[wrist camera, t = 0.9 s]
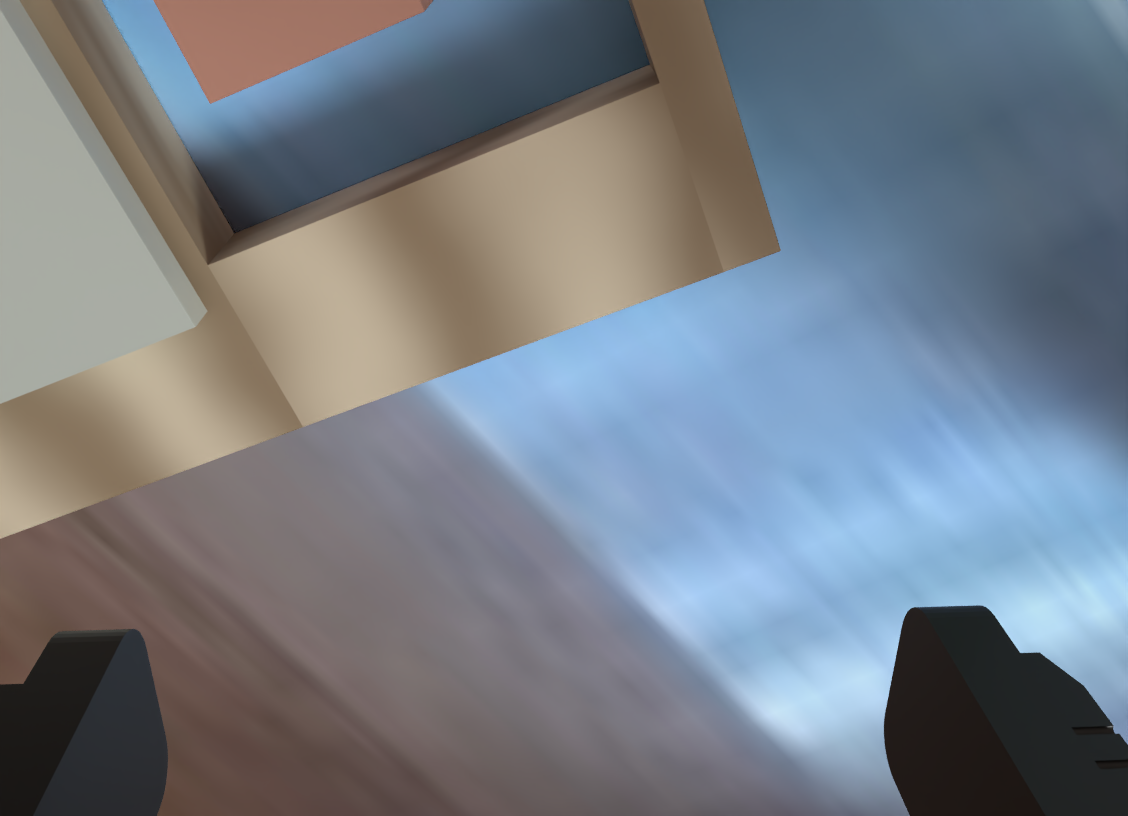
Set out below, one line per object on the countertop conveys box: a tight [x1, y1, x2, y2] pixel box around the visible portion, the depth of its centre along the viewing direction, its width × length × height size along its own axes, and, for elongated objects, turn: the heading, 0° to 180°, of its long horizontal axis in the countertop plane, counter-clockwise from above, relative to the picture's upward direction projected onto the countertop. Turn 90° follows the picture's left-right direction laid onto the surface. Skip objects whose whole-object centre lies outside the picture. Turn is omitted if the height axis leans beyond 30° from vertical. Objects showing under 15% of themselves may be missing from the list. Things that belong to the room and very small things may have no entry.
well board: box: [0, 0, 781, 539], centre depth 24 cm, size 26×22×2 cm
